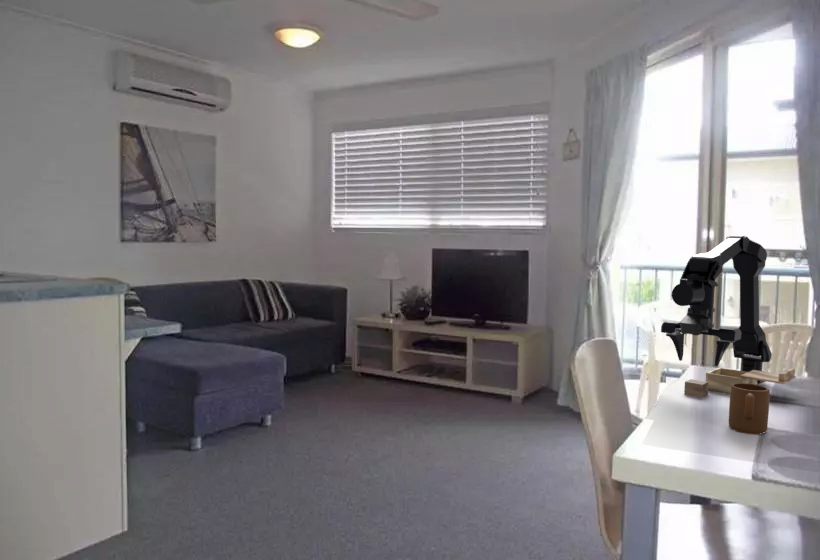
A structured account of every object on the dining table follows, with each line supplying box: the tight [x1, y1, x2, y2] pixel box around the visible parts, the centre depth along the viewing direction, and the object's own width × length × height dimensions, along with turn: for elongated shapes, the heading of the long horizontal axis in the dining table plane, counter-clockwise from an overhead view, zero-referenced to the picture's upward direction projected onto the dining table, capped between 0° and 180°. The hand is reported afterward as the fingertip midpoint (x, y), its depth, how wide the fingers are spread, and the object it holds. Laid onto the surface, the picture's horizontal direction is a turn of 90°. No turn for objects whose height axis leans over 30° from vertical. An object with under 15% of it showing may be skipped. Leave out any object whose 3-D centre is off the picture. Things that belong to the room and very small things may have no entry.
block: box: [683, 379, 709, 398], centre depth 178 cm, size 4×4×4 cm
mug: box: [728, 383, 771, 435], centre depth 144 cm, size 12×8×9 cm, turn 153°
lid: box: [740, 367, 796, 385], centre depth 178 cm, size 11×10×2 cm
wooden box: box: [705, 367, 758, 394], centre depth 185 cm, size 11×10×4 cm
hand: (698, 363), depth 177 cm, fingers open, 9 cm apart
